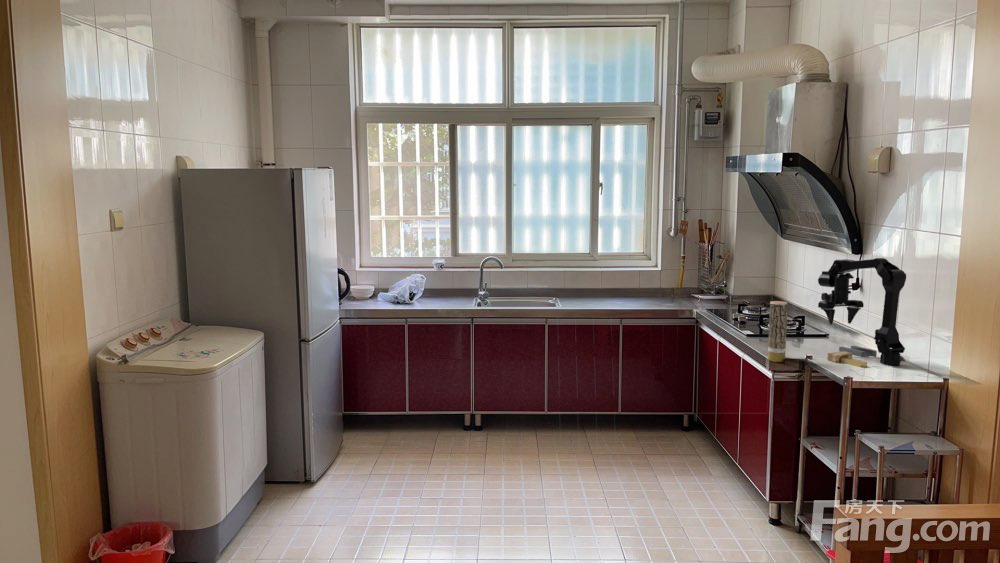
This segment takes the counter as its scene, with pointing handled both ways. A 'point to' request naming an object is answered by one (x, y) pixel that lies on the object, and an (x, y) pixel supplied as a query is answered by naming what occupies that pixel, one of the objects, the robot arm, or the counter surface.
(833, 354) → the light wood notched block
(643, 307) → the counter surface
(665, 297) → the counter surface
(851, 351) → the grey u channel block
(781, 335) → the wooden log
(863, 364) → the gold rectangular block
